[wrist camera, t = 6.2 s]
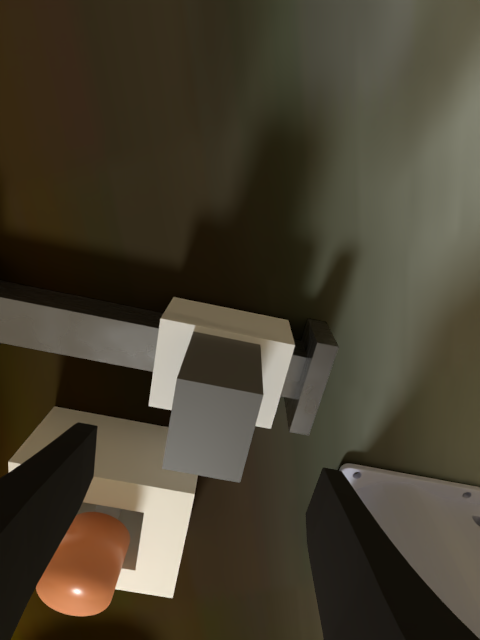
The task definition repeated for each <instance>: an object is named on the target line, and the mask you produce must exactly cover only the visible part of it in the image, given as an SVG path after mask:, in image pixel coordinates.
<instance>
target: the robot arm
mask: <svg viewBox="0 0 480 640" xmlns="http://www.w3.org/2000/svg"><path fill="white" fill-rule="evenodd" d="M97 428H98V426H96V425H90V424H85V423H79V422H78V423H76V424H74V425H73V426H72V427H70V428H69V429H68V430H66V431H65V432H64V433H63V434H61V435H60V436H59V437H57V438H56V439H55V440H53V441H52V442H51V443H49V444H48V445H47V446H45V447H44V448H43V449H41V450H40V451H39V452H37V453H36V454H35V455H33V456H32V457H30V458H29V459H28V460H26V461H25V462H23V463H22V464H21V465H19V466H18V467H16V468H15V469H13V470H12V471H10V472H9V473H7V474H6V475H4V476H3V477H1V478H0V640H11V637H12V635H13V633H14V631H15V629H16V627H17V624H18V622H19V620H20V618H21V616H22V614H23V612H24V609H25V607H26V605H27V603H28V601H29V599H30V597H31V595H32V593H33V591H34V589H35V588H36V586H37V584H38V582H39V580H40V578H41V577H42V575H43V573H44V571H45V570H46V568H47V566H48V564H49V563H50V561H51V559H52V557H53V556H54V554H55V552H56V550H57V548H58V547H59V545H60V543H61V541H62V540H63V538H64V536H65V534H66V533H67V531H68V529H69V527H70V525H71V524H72V522H73V520H74V518H75V517H76V515H77V513H78V511H79V509H80V507H81V505H82V503H83V500H84V498H85V496H86V493H87V491H88V489H89V486H90V484H91V481H92V479H93V477H94V466H95V453H96V440H97ZM355 472H359V473H357V474H354V473H355ZM465 492H466V493H465ZM306 529H307V544H308V552H309V558H310V564H311V570H312V575H313V581H314V586H315V592H316V597H317V603H318V609H319V614H320V620H321V625H322V631H323V637H324V640H480V487H477V486H471V485H466V484H460V483H455V482H449V481H444V480H438V479H433V478H427V477H422V476H417V475H411V474H406V473H400V472H395V471H389V470H384V469H378V468H373V467H367V466H362V465H356V464H351V463H346V464H344V465H342V466H341V467H340V469H339V470H334V469H328V468H323V469H322V471H321V474H320V477H319V479H318V482H317V485H316V488H315V490H314V493H313V496H312V498H311V501H310V504H309V506H308V509H307V512H306Z"/></svg>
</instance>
